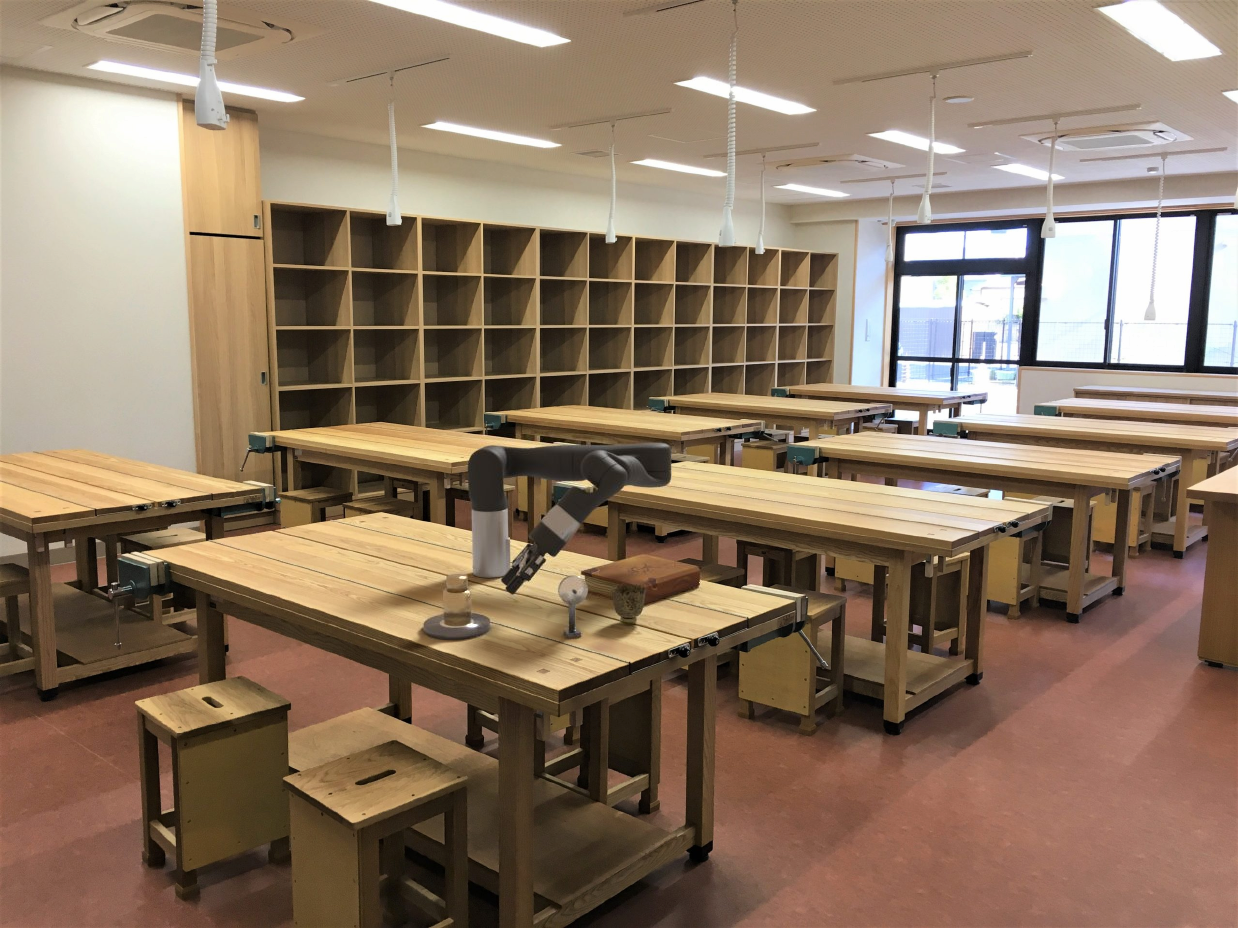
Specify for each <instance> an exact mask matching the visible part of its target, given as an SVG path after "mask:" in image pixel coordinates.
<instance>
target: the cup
mask: <svg viewBox="0 0 1238 928" xmlns="http://www.w3.org/2000/svg"><path fill="white" fill-rule="evenodd" d="M611 589H612V597H613V600H612V604H613V610H614V612H615V614H617V615H618V616H619V618H620V619H619V621H620V623H621V624H623V625H625V624H627V625H626V626H631V625H630V624H632V625H634V624H636V623H637V620H638V616H640V615H641V613H642V612H643V610H644V608H645V607H644V606H645V604H644V600H645V592H646V587H645V589H644V586H643V587H641V585H637V584H636V585H635V586H634V587H633V586H632V584H631V583H630V585H629V586H628V585H626V584H624V583H623V584H622V585H617V589H614V588H613V587H611Z"/></svg>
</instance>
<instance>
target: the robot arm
mask: <svg viewBox="0 0 1238 928" xmlns="http://www.w3.org/2000/svg"><path fill="white" fill-rule="evenodd" d="M515 477H532V478H533V477H535V478H539V479H542V480H548V481H552V482H554V481H555V482H583V481H586V480H587V481H588V482H589V483H590V484H592V485H593V487H595V488H596V490H595V491H591V492H590V491H589V492H588V491H586V490H583V489H582V488H580V487H577V486H571V487H570V488H569V489H568V490H567V491H566V492H565V493H564V495H562V497H561V498H560V499H559V501H557V502H556V504H555V505H554V506H553V507H552V508H551V509H550V510H548V511H547V512H546V514H545V515H544V516H543V518H542V519H540V520H539V522H538V523H537V524H536V526H534V528H533V529H532V530H531V532H529V534H528V537H529V539H530V540H531V541H532V542H533V543H530V542H528V543H527V544H526V545H525V546H524V548H523V549H521V551H520V552H519V554H518V555H517V556H515V558H514V559H513V560H512V561H511V538H510V537H509V524H508V523H509V521H508V520H509V515H508V512H509V511H508V503H509V502H508V498H507V496H506V495H505V490H504V487H505V486H504V479H507V478H515ZM671 480H672V448H671V446H670V445H669V444H667V443H665V442H643V443H642V442H641V443H630V444H629V443H628V444H612V445H609V444H608V445H601V444H599V445H598V444H596V445H595V444H594V445H593V444H588V445H587V444H561V445H546V446H537V447H536V446H535V447H515V446H504V445H493V444H492V445H485V446H483V447H481V448H479V449H477V450H475V451H474V452H472V453H471V455H470V457H469V459H468V463H467V485H468V497H469V500H470V505H471V532H472V533H471V540H472V541H471V542H472V549H471V550H472V551H471V552H472V575H473V576H475V577H478V578H489V579H491V578H500V577H502V578H501V579H500V582H501V583H502V584H503V585H505V590H506V592H508V593H509V594H510V595H515V593H516V592H517V591H518V590H519V589H520V588H521V586H522V585H523V584H524V583H526V582H530V581H531V580H532V579H533V577H534V576H535V574H537V572H538V571H539V570H540V569H541V567H543V565H544V564H545V563H546V561H547V559H546V557H545V556H546V554H548V555H549V556H550V557H552V558H556V557H557V556H558V554H559V553H560V552H561V550H563V548H564V547H565V546H566V545H567V544H568V542H569V541H570V540H571V539H572V538H573V537H574V535H575V534H576V532H577V531H578V529H579V528H580V527H581V525H582V524H583V523H584V522H585V521H586V520H587V518H588V517H589V516H590V515H591V514H592V513H593V512H594V511H595V510H596V509H597V508H598V507H599V506H600V505H602V504H603V503H605V502H606V501H607V500H609V499H611V498H612V497H614V496H615V495H616V494H618V493H619V492H620V491H621V490H623V489H624V487H627V486H633V487H638V488H650V489H651V488H653V489H654V488H663V487H666V486H668V485H669V484H670V482H671Z"/></svg>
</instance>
